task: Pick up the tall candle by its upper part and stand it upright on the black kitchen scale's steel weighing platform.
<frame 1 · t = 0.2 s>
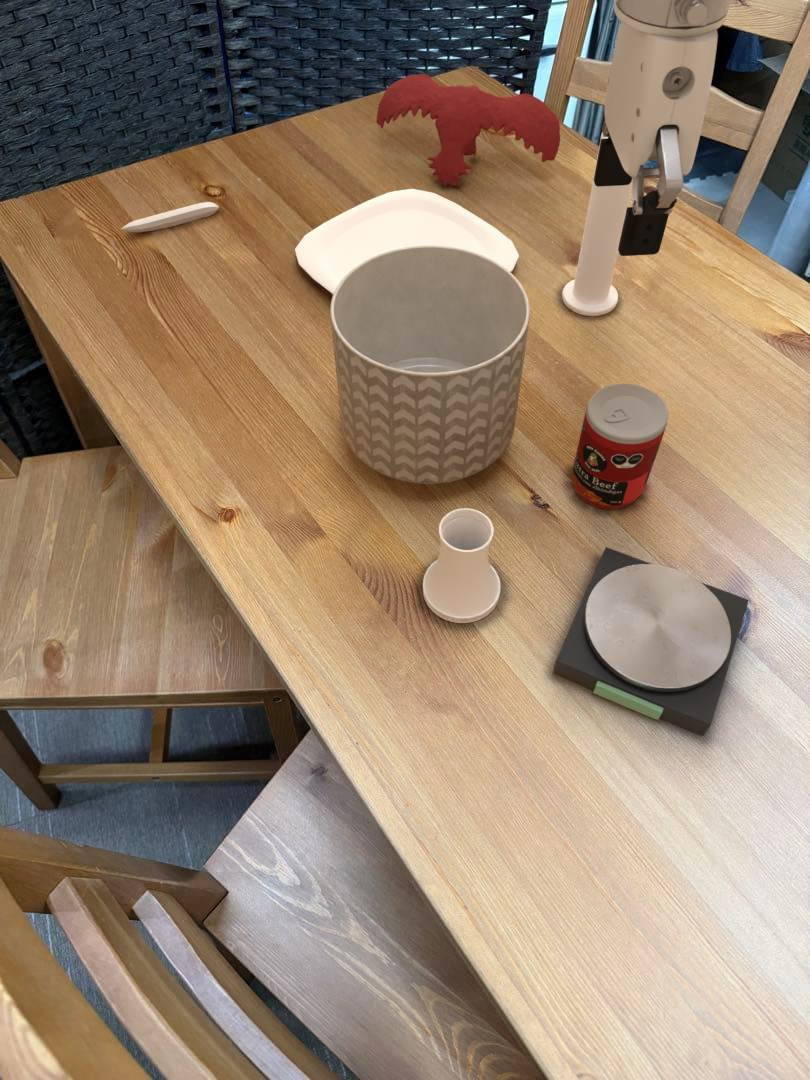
hand: (624, 217, 71), 29 cm above the table, tool pointing down, fingers open, 9 cm apart
planter: (427, 437, 96), on the table
vase: (461, 591, 84), on the table
candle: (589, 300, 110), on the table
canned food: (607, 484, 92), on the table
pen: (172, 225, 120), on the table
scale: (648, 642, 80), on the table
plate: (406, 262, 115), on the table
decorative bird sculpture: (459, 167, 128), on the table
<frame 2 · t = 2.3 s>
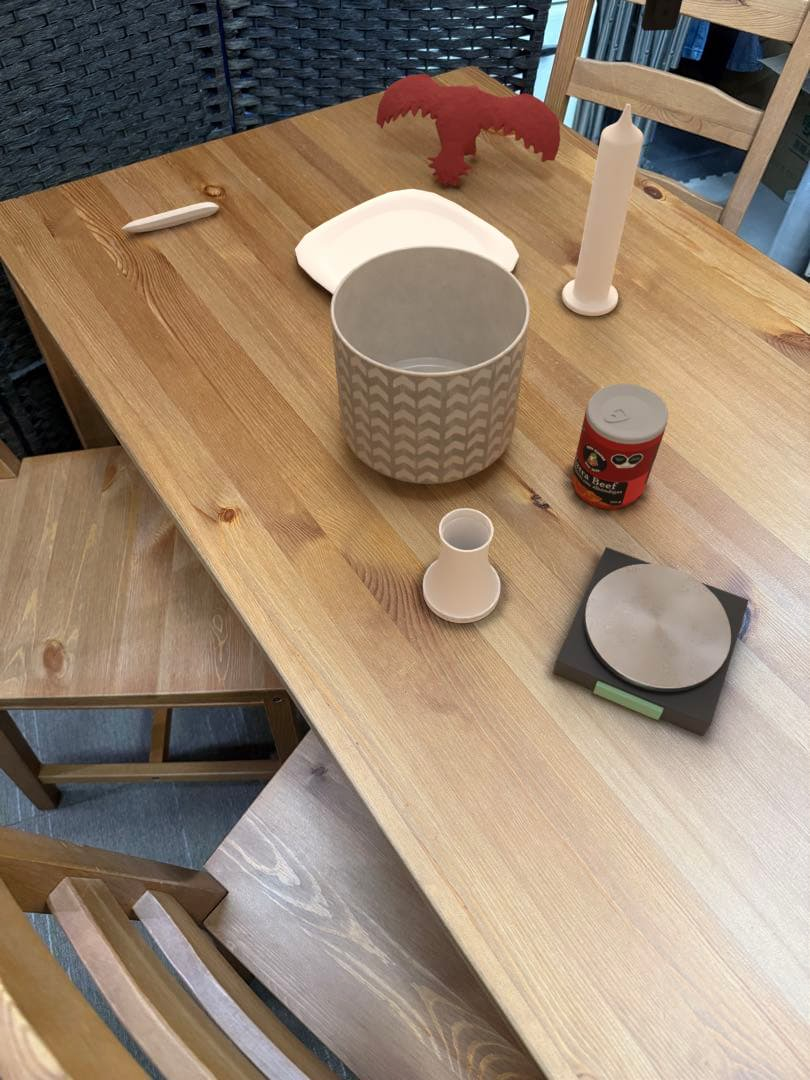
hand: (645, 5, 82), 34 cm above the table, tool pointing down, fingers open, 9 cm apart
nothing on the table moved.
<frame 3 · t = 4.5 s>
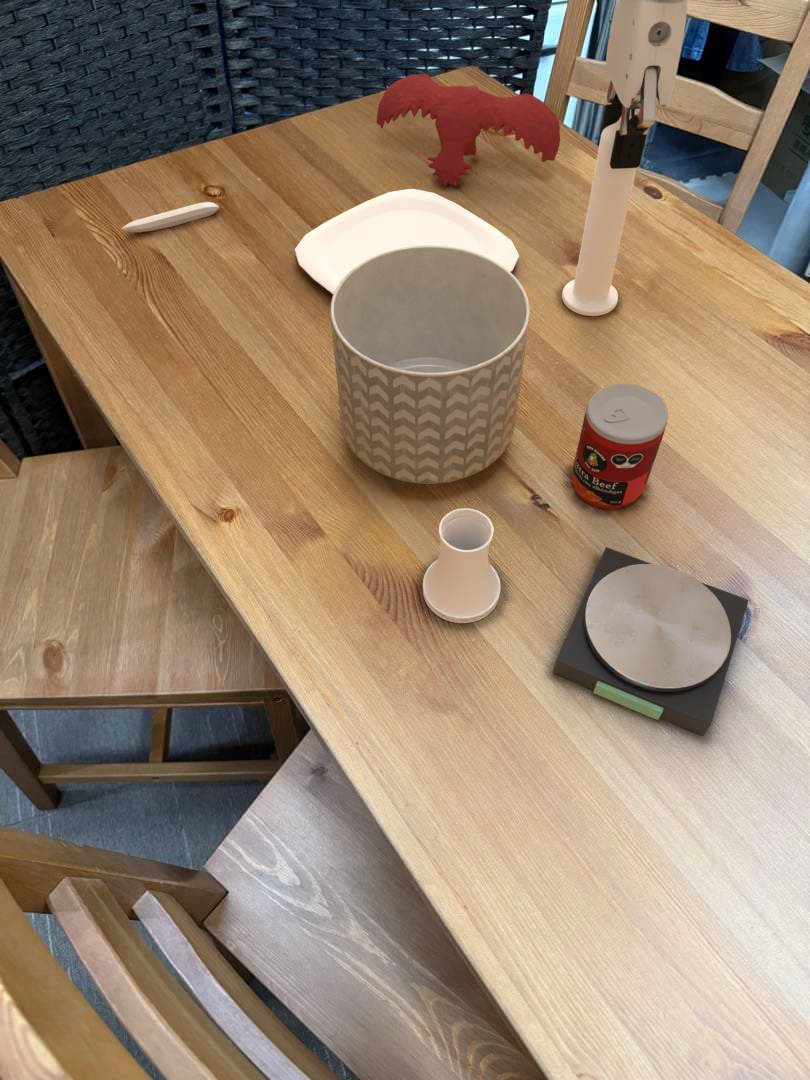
hand: (619, 151, 94), 20 cm above the table, tool pointing down, fingers closed on candle, 4 cm apart
candle: (589, 299, 110), on the table, touching gripper
everything else where it was.
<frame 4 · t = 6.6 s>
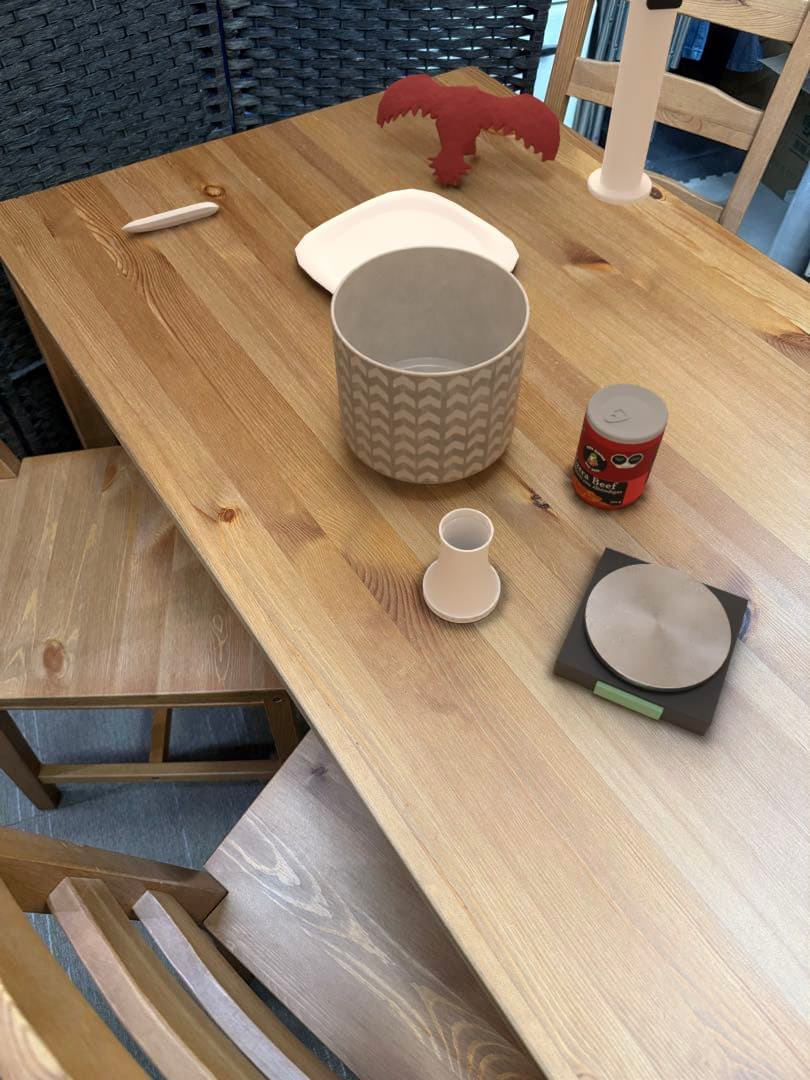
candle: (618, 189, 96), point 16 cm above the table, touching gripper
everything else where it was.
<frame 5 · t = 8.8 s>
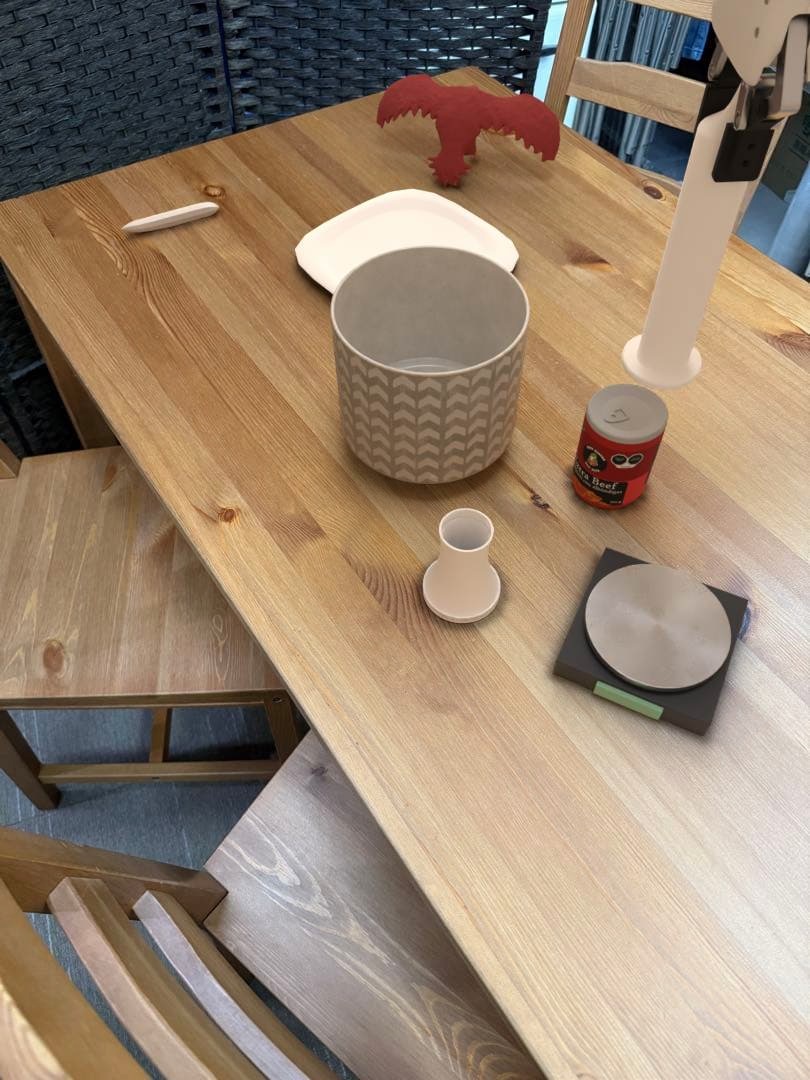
hand: (724, 156, 61), 37 cm above the table, tool pointing down, fingers closed on candle, 4 cm apart
candle: (659, 365, 77), point 17 cm above the table, touching gripper
everything else where it was.
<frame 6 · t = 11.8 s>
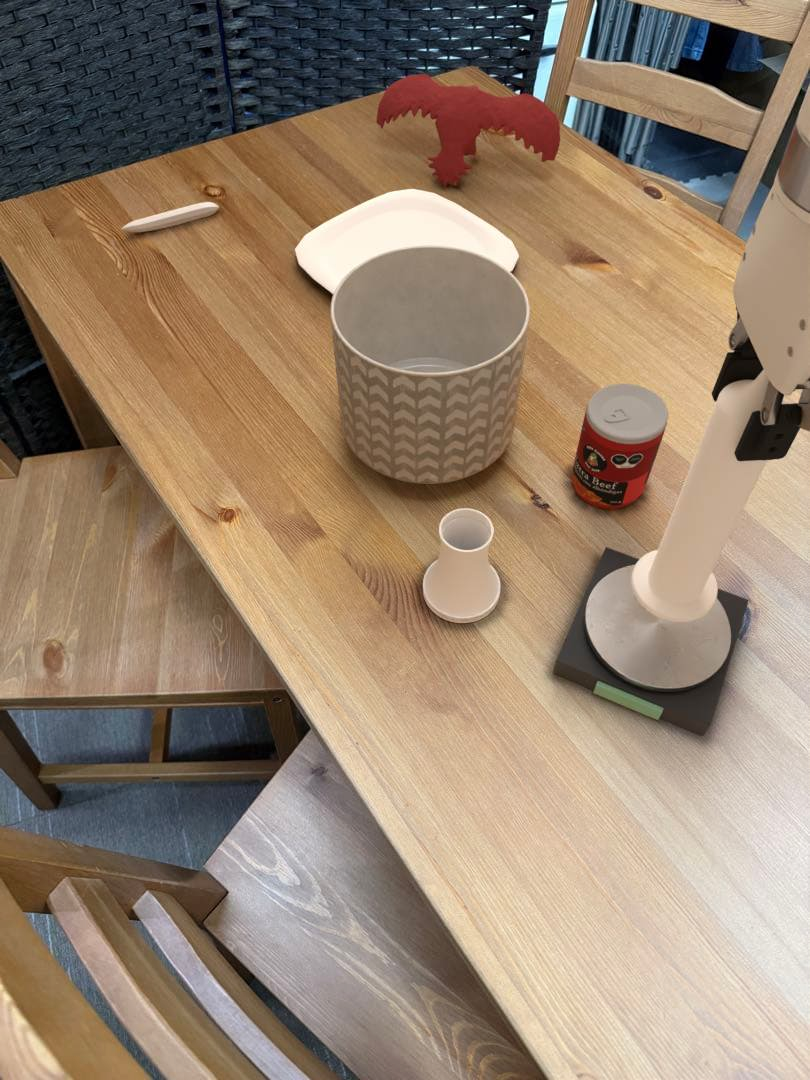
hand: (746, 424, 56), 29 cm above the table, tool pointing down, fingers closed on candle, 4 cm apart
candle: (672, 588, 72), point 9 cm above the table, touching gripper
everything else where it was.
when the fingers open (23 cm above the table, at t = 13.5 s): candle stays where it is, resting on scale.
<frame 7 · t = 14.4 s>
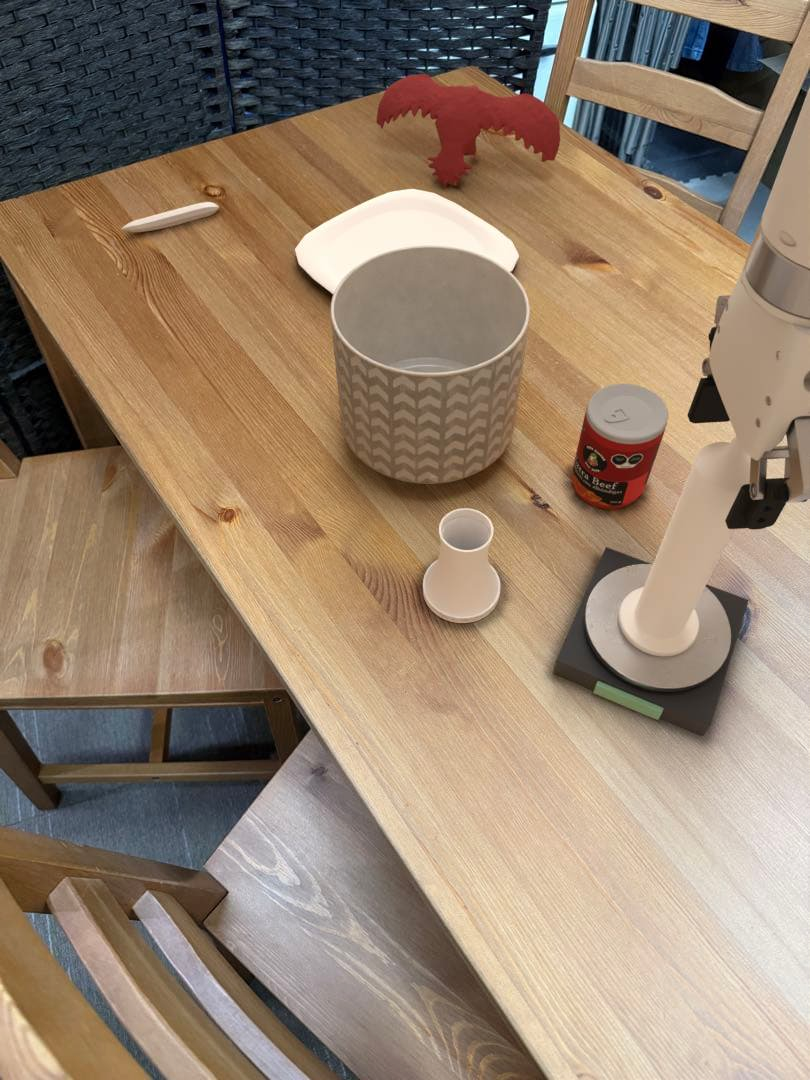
hand: (727, 469, 60), 25 cm above the table, tool pointing down, fingers open, 9 cm apart
candle: (656, 623, 77), point 3 cm above the table, touching scale
everything else where it was.
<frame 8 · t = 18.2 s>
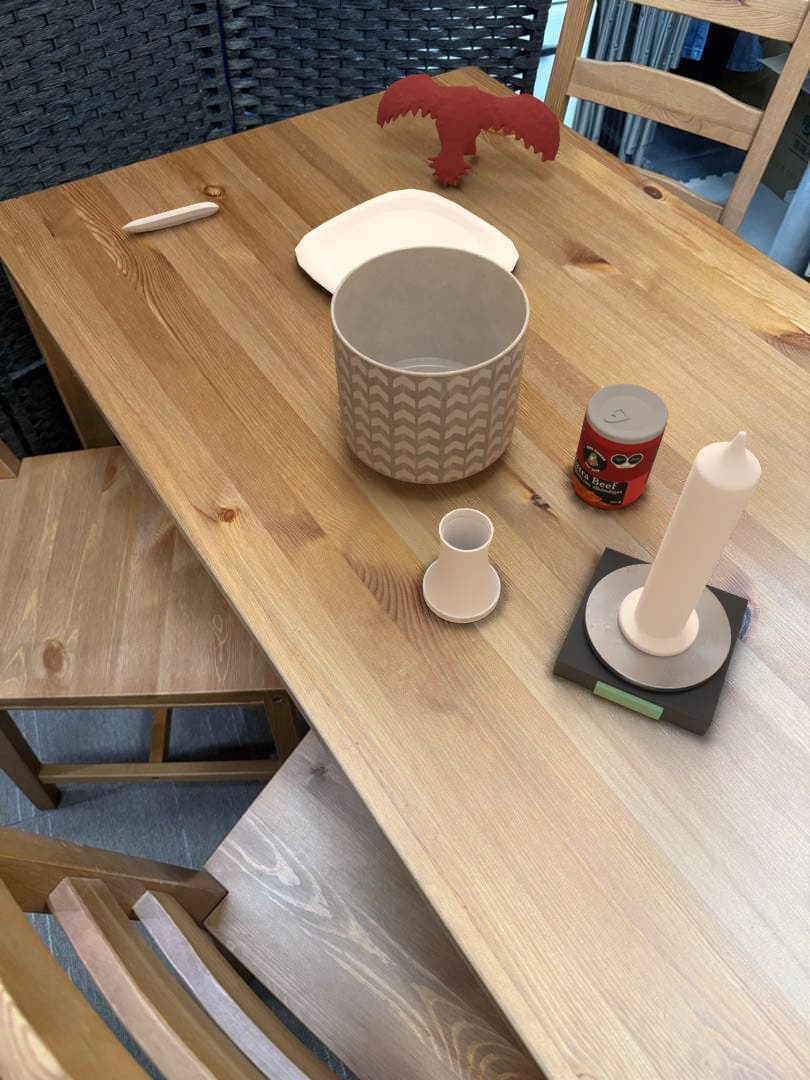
nothing on the table moved.
at the end: candle inside the target area on the scale (0.0 cm from its centre), point 3.4 cm above the scale's base; candle tilted 0°; the gripper is holding nothing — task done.
